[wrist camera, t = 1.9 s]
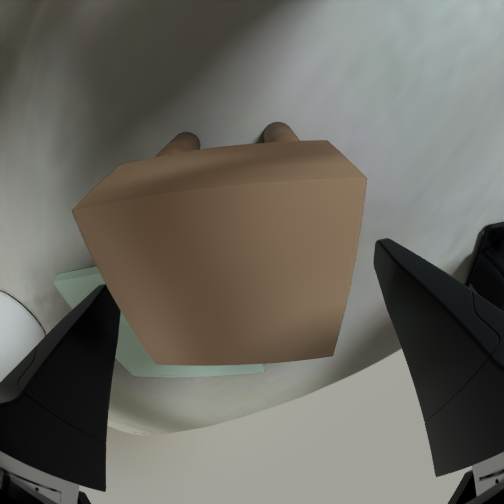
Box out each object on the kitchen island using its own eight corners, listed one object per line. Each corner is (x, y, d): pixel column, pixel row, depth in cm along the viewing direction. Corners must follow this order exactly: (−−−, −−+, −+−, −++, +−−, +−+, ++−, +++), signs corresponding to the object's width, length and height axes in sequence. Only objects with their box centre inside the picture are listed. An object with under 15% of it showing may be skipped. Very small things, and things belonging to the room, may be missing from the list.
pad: (225, 242, 13) (224, 252, 13) (264, 363, 21) (264, 371, 20) (57, 274, 15) (52, 282, 14) (135, 369, 22) (133, 376, 21)
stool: (297, 115, 10) (367, 178, 4) (299, 229, 13) (332, 356, 7) (163, 130, 10) (71, 210, 4) (188, 239, 13) (155, 364, 8)
